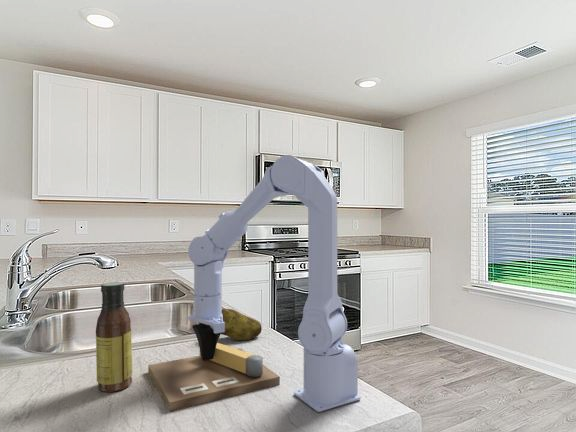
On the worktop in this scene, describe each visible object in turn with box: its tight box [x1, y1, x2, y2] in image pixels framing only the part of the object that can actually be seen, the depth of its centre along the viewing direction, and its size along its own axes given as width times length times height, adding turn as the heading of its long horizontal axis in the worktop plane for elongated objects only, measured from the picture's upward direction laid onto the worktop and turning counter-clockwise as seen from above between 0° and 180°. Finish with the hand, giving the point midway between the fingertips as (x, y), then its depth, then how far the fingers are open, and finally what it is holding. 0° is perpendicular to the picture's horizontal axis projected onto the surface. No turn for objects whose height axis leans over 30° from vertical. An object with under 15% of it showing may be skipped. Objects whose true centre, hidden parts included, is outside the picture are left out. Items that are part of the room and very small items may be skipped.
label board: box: [147, 348, 281, 412], centre depth 76 cm, size 21×19×2 cm
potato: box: [220, 308, 262, 341], centre depth 102 cm, size 8×13×8 cm, turn 82°
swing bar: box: [199, 342, 264, 377], centre depth 79 cm, size 18×3×3 cm, turn 50°
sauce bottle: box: [95, 281, 133, 393], centre depth 72 cm, size 7×6×20 cm
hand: (207, 359), depth 79 cm, fingers closed
